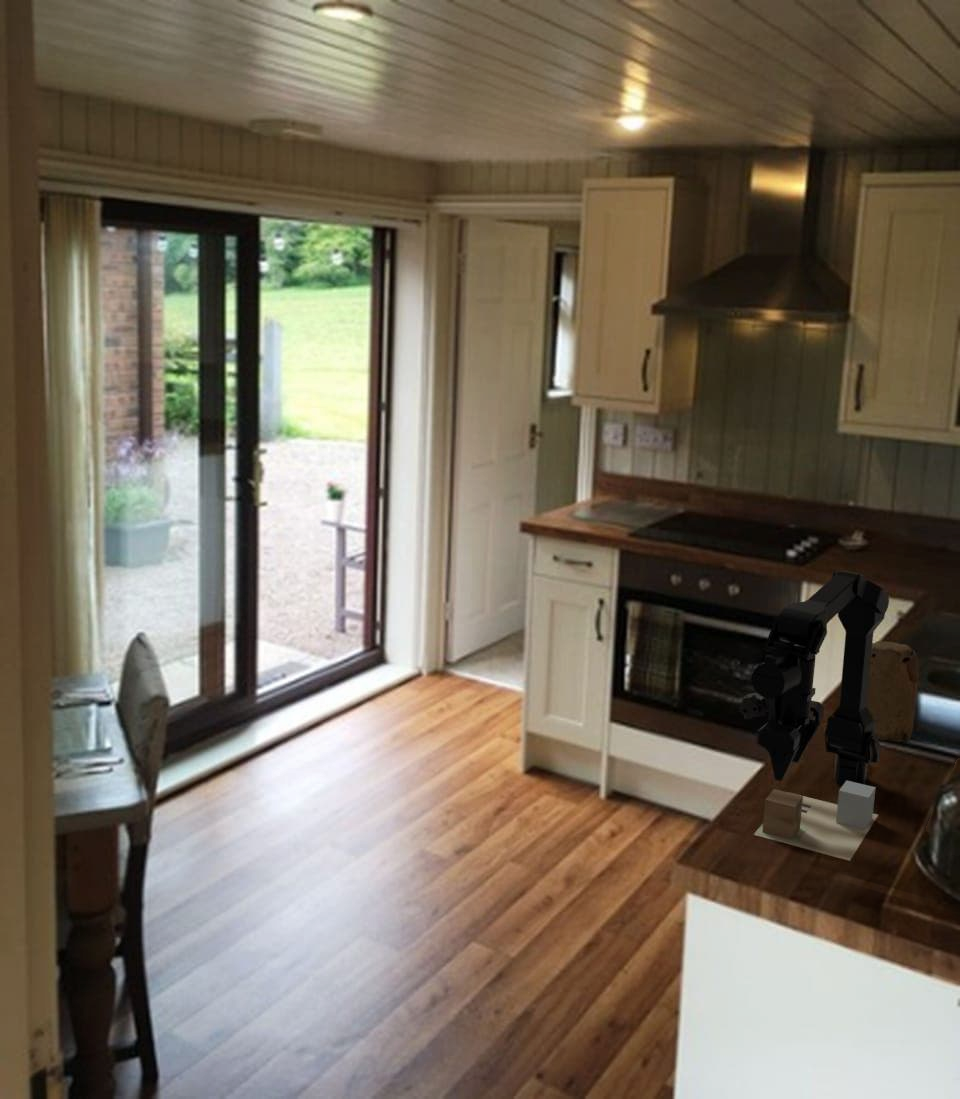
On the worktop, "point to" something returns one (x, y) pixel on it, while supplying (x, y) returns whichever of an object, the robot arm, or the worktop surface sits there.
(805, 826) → the board
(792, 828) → the walnut block
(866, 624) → the robot arm
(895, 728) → the block
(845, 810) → the grey block
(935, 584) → the worktop surface
